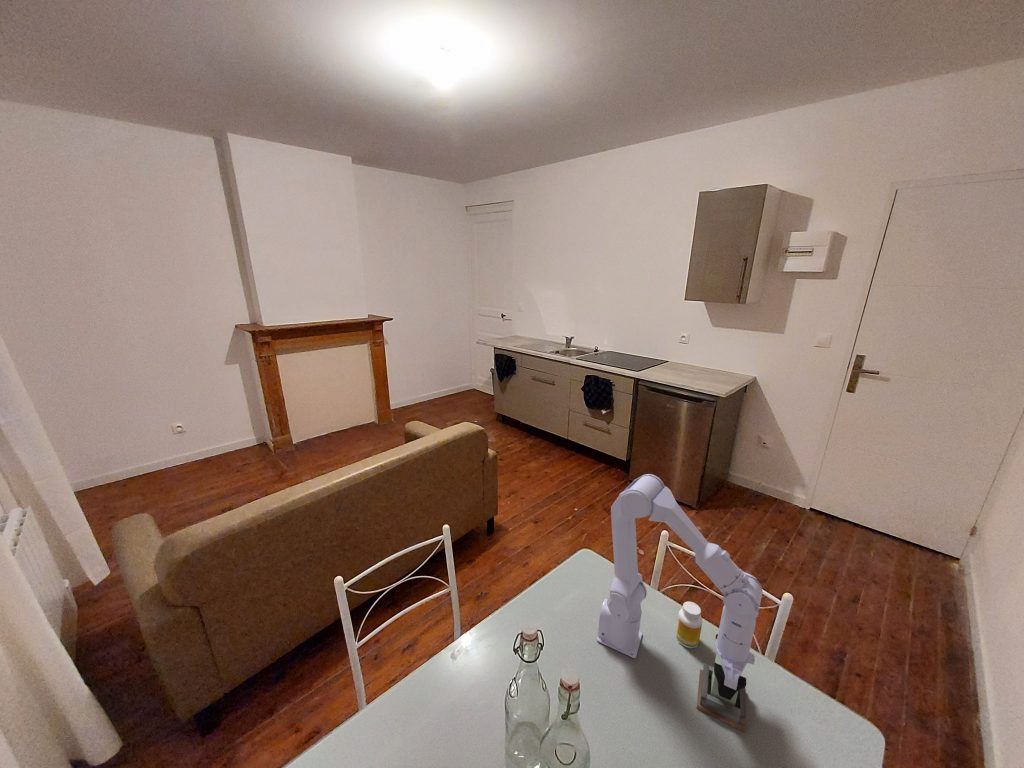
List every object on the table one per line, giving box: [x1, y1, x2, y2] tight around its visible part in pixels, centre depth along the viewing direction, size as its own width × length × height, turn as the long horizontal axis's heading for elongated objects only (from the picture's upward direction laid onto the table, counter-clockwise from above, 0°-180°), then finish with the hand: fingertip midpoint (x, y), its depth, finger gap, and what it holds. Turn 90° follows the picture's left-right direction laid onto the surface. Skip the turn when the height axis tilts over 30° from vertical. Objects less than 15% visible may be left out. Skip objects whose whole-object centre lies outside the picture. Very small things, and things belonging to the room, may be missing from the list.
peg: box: [710, 654, 738, 707], centre depth 81 cm, size 4×4×8 cm
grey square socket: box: [696, 663, 748, 733], centre depth 82 cm, size 9×9×3 cm
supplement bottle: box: [675, 601, 703, 649], centre depth 95 cm, size 5×5×10 cm
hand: (724, 683), depth 81 cm, fingers open, 5 cm apart
